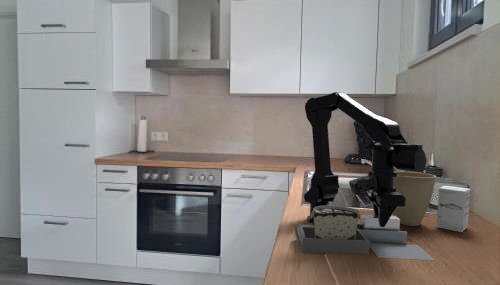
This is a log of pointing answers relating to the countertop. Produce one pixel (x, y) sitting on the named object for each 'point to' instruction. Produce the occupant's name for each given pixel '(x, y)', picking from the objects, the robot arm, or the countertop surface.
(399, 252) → the grey mat
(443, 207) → the supplement box
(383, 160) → the robot arm
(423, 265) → the countertop surface
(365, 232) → the bracket
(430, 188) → the plant pot
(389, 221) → the silver metal bar
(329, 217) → the food container
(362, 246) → the case
